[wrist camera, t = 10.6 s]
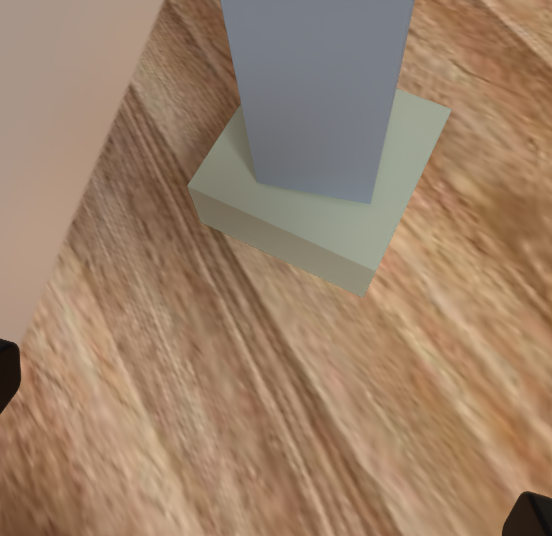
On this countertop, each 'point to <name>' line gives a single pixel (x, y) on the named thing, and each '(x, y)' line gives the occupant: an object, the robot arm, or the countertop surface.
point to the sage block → (318, 199)
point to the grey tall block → (317, 88)
